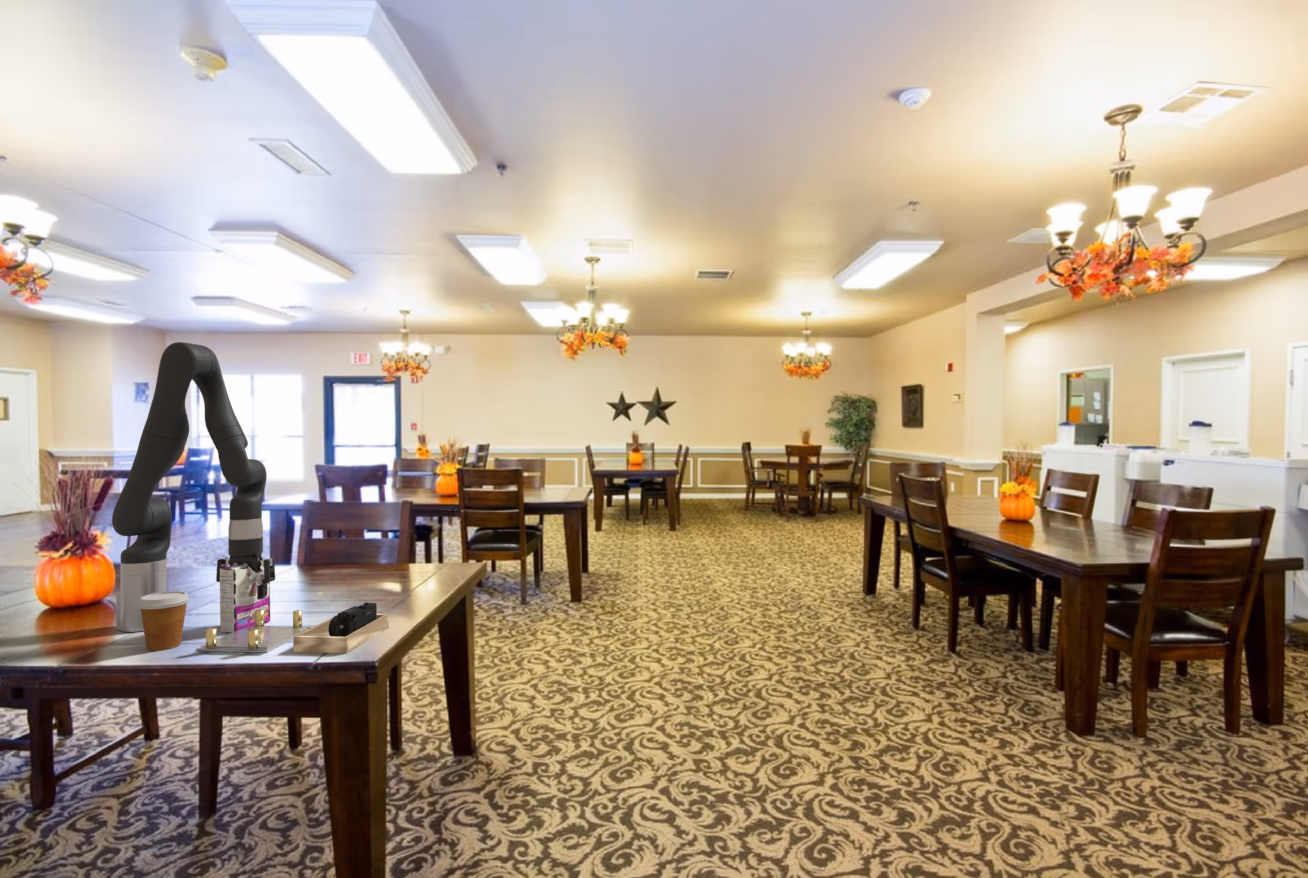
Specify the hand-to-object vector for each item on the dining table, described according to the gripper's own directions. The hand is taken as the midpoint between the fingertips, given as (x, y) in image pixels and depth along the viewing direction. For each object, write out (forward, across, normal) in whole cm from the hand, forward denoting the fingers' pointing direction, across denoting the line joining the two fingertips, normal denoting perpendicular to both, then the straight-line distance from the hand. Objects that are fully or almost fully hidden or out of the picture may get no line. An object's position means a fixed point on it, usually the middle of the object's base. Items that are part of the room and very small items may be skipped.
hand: (245, 598), depth 161 cm
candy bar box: (+8, 0, 0) cm, 8 cm away
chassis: (+7, +11, -11) cm, 17 cm away
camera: (+8, +32, -7) cm, 34 cm away
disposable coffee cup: (+8, -8, -16) cm, 19 cm away
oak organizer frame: (+8, +31, -8) cm, 33 cm away
